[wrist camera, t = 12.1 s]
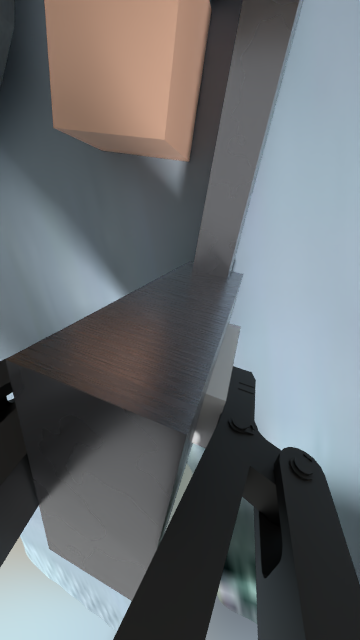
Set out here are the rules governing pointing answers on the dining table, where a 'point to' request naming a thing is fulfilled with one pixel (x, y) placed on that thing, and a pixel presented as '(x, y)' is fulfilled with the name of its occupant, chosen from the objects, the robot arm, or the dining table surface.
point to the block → (127, 72)
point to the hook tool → (148, 351)
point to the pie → (6, 31)
